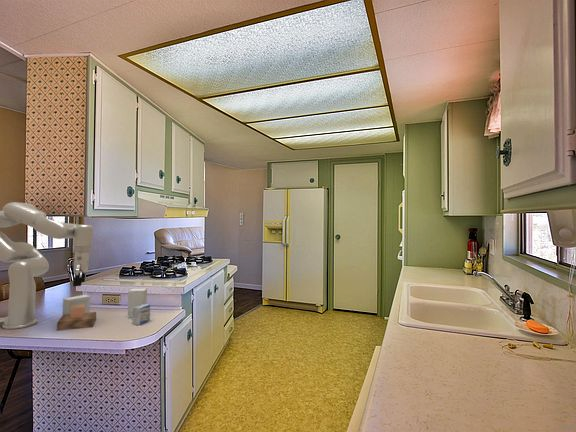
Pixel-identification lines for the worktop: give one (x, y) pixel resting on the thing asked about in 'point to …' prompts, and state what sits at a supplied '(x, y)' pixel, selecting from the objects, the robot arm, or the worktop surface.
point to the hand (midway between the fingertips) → (78, 284)
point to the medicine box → (141, 314)
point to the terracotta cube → (78, 311)
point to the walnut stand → (76, 321)
